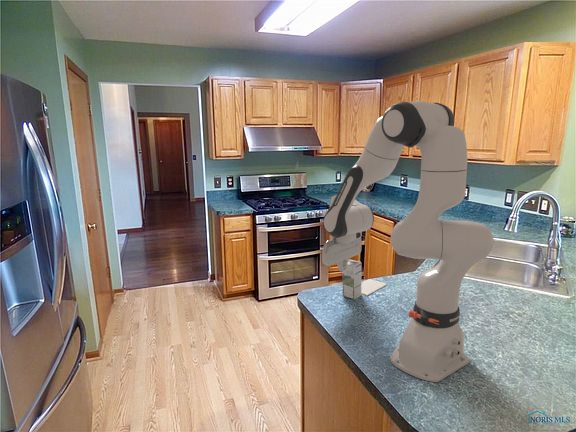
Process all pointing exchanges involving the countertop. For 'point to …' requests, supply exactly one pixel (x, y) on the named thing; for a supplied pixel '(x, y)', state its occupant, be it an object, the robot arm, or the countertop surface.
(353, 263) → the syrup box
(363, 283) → the cream flat rectangular slab
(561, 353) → the countertop surface
